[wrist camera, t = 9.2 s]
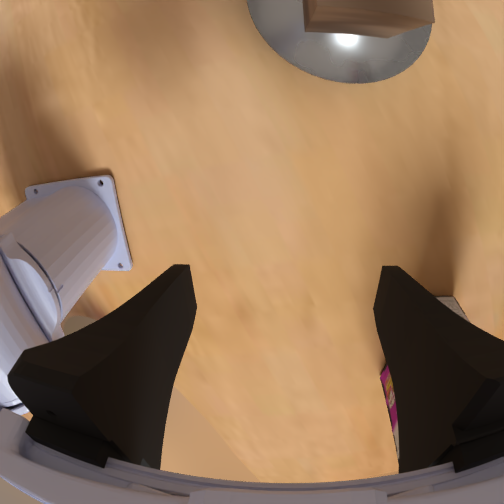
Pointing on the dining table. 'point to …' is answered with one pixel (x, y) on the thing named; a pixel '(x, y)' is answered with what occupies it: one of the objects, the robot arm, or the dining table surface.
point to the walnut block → (367, 16)
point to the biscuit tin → (334, 45)
